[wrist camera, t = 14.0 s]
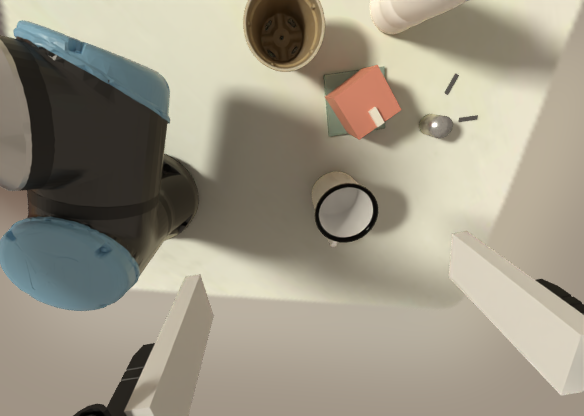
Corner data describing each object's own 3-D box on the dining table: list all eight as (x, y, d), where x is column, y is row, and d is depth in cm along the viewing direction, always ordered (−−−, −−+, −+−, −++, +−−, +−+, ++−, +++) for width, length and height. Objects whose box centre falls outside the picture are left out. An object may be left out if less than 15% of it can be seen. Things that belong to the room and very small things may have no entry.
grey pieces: (418, 135, 47) (431, 139, 44) (421, 78, 44) (434, 77, 40) (475, 127, 47) (493, 130, 44) (482, 69, 44) (501, 67, 40)
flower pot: (323, 11, 40) (335, -9, 32) (305, 82, 43) (312, 80, 35) (256, -11, 38) (252, -38, 30) (243, 64, 42) (236, 58, 34)
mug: (313, 164, 48) (322, 179, 40) (367, 172, 49) (386, 188, 41) (301, 227, 52) (306, 253, 44) (350, 233, 54) (365, 260, 45)
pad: (328, 135, 46) (329, 136, 46) (323, 75, 43) (324, 75, 42) (383, 127, 46) (384, 128, 46) (382, 66, 43) (384, 66, 42)
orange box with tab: (324, 96, 44) (334, 98, 37) (361, 68, 42) (379, 64, 35) (347, 132, 46) (360, 140, 39) (382, 106, 45) (403, 110, 38)
